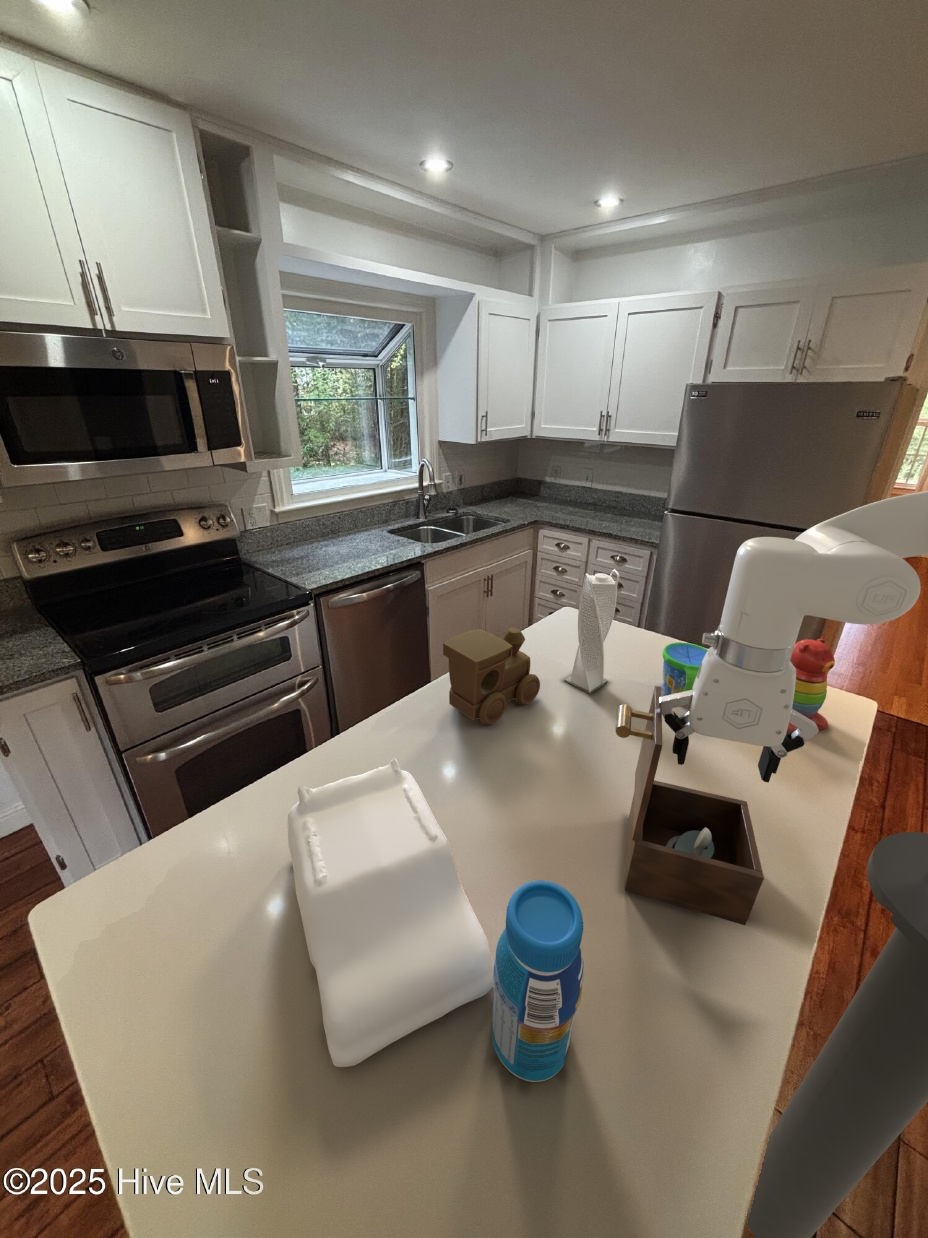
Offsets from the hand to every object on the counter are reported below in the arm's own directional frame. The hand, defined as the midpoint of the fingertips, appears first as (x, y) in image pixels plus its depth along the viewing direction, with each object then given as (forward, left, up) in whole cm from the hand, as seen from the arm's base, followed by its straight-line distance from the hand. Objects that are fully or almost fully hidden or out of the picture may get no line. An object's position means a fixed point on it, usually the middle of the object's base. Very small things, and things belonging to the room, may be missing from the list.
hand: (720, 766), depth 63 cm
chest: (+1, +1, -18) cm, 18 cm away
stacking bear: (-22, -44, -18) cm, 52 cm away
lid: (+8, +1, -1) cm, 8 cm away
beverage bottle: (+17, +28, -18) cm, 38 cm away
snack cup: (-1, -46, -18) cm, 49 cm away
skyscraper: (+19, -43, -18) cm, 50 cm away
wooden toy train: (+37, -28, -18) cm, 50 cm away
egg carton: (+38, +21, -18) cm, 47 cm away
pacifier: (+1, 0, -17) cm, 17 cm away
